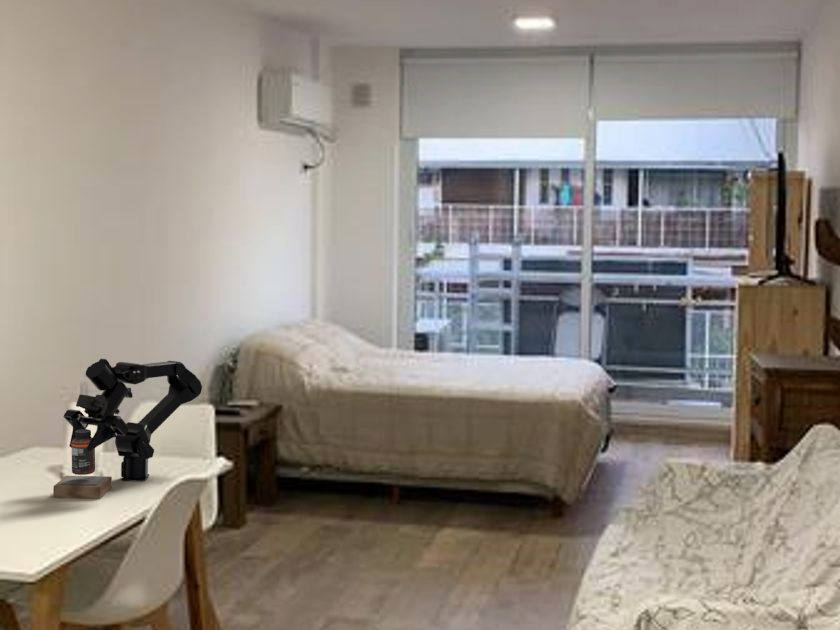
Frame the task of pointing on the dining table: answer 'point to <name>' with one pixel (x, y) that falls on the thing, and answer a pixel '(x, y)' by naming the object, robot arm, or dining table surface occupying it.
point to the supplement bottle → (82, 453)
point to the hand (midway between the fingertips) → (79, 448)
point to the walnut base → (82, 487)
